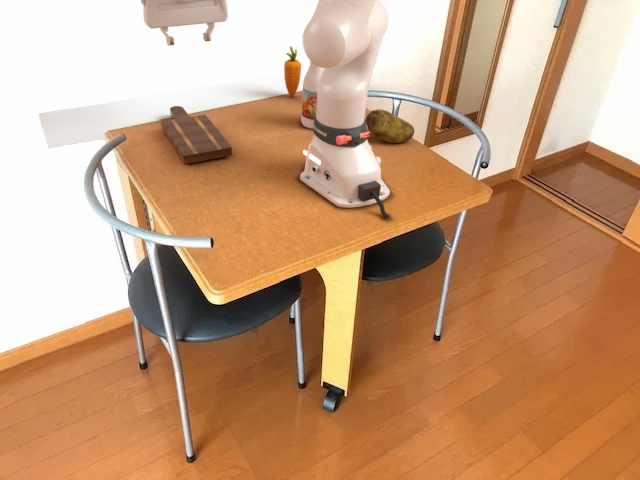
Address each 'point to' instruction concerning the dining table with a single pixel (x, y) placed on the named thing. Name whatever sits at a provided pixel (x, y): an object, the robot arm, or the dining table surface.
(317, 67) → the milk bottle
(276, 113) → the dining table surface
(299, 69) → the carrot
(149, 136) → the dining table surface
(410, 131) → the potato
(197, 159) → the cutting board
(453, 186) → the dining table surface
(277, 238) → the dining table surface
